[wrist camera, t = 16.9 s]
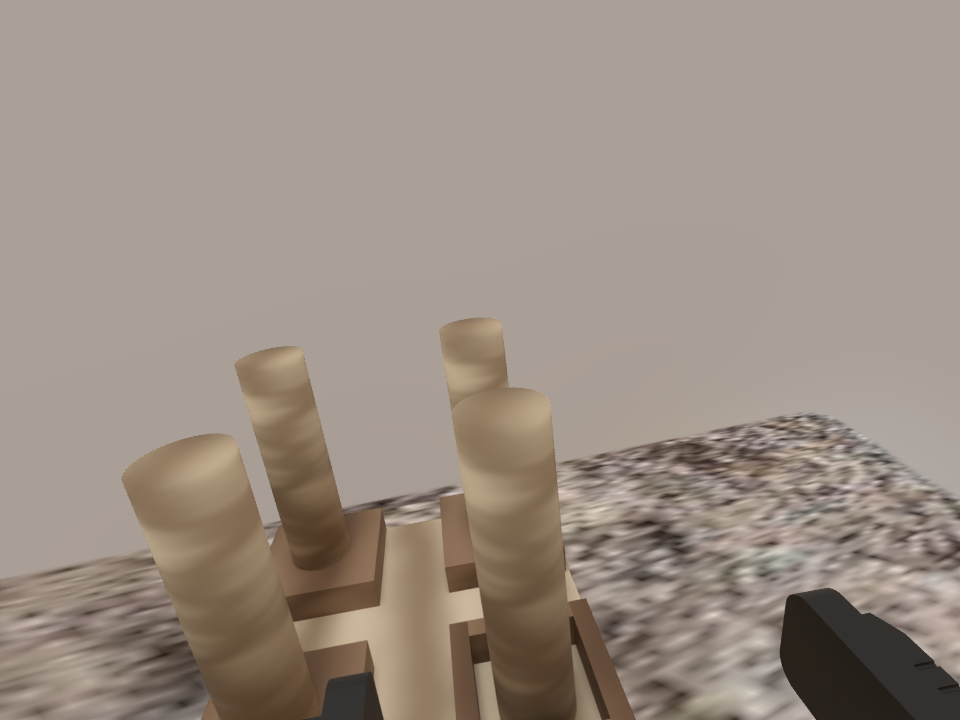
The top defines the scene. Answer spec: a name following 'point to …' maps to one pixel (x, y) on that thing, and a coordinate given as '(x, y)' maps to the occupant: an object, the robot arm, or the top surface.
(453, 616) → the stool seat
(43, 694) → the top surface
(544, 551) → the stool leg
